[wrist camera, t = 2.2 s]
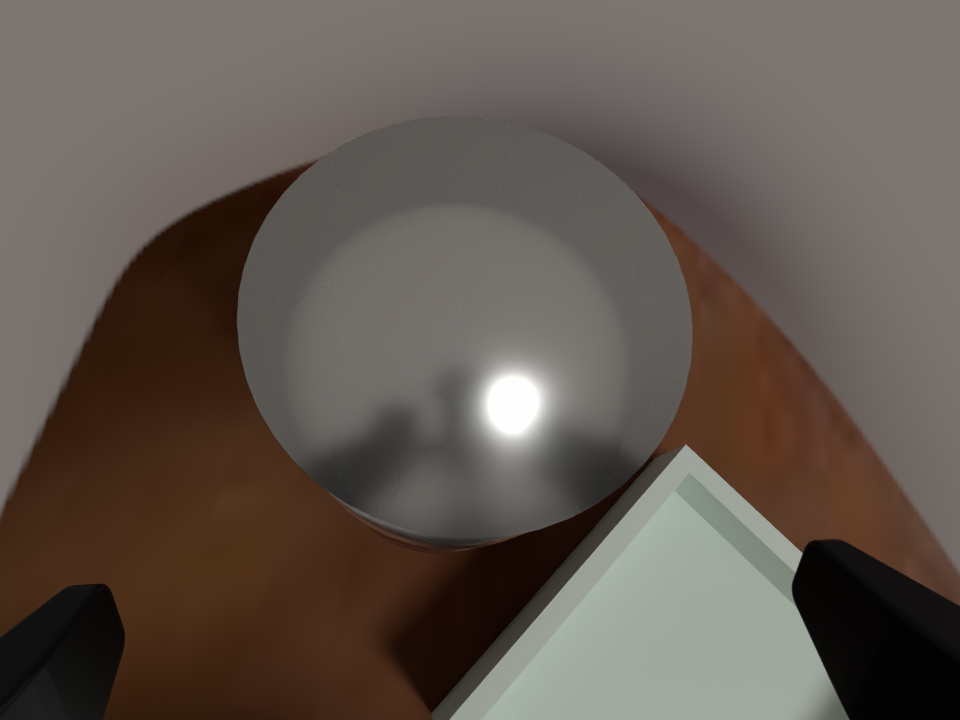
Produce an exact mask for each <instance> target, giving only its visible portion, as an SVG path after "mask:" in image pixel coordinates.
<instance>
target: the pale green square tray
mask: <svg viewBox="0 0 960 720" xmlns="http://www.w3.org/2000/svg"><path fill="white" fill-rule="evenodd" d="M801 556H802V553H801V552H800V551H799V550H798V549H797V548H796V547H795V546H794V545H793V544H792V543H791V542H790V541H789V540H788V539H786V538H785V537H784V536H783V535H782V534H781V533H780V532H779V531H778V530H777V529H776V528H775V527H774V526H773V525H771V524H770V523H769V522H768V521H767V520H766V519H765V518H764V517H763V516H762V515H761V514H760V513H759V512H758V511H756V510H755V509H754V508H753V507H752V506H751V505H750V504H749V503H748V502H747V501H746V500H745V499H744V498H743V497H742V496H740V495H739V494H738V493H737V492H736V491H735V490H734V489H733V488H732V487H731V486H730V485H729V484H728V483H727V482H725V481H724V480H723V479H722V478H721V477H720V476H719V475H718V474H717V473H716V472H715V471H714V470H713V469H712V468H710V467H709V466H708V465H707V464H706V463H705V462H704V461H703V460H702V459H701V458H700V457H699V456H698V455H697V454H696V453H694V452H693V451H692V450H691V449H690V448H689V447H688V446H687V445H684V446H681V447H679V448H677V449H674V450H672V451H670V452H667V453H665V454H663V455H661V456H658V457H656V458H654V459H653V460H652V462H651V463H650V464H649V465H648V466H647V467H646V468H645V470H644V471H643V472H642V473H641V474H640V475H639V476H638V478H637V479H636V480H635V481H634V482H633V483H632V484H631V486H630V487H629V488H628V489H627V490H626V491H625V492H624V494H623V495H622V496H621V497H620V498H619V499H618V500H617V502H616V503H615V504H614V505H613V506H612V507H611V508H610V510H609V511H608V512H607V513H606V514H605V515H604V516H603V518H602V519H601V520H600V521H599V522H598V523H597V524H596V526H595V527H594V528H593V529H592V530H591V531H590V532H589V534H588V535H587V536H586V537H585V538H584V539H583V540H582V542H581V543H580V544H579V545H578V546H577V547H576V548H575V550H574V551H573V552H572V553H571V554H570V555H569V556H568V558H567V559H566V560H565V561H564V562H563V563H562V564H561V566H560V567H559V568H558V569H557V570H556V571H555V572H554V574H553V575H552V576H551V577H550V578H549V579H548V580H547V582H546V583H545V584H544V585H543V586H542V587H541V589H540V590H539V591H538V592H537V593H536V594H535V595H534V597H533V598H532V599H531V600H530V601H529V602H528V603H527V605H526V606H525V607H524V608H523V609H522V610H521V611H520V613H519V614H518V615H517V616H516V617H515V618H514V619H513V621H512V622H511V623H510V624H509V625H508V626H507V627H506V629H505V630H504V631H503V632H502V633H501V634H500V635H499V637H498V638H497V639H496V640H495V641H494V642H493V643H492V645H491V646H490V647H489V648H488V649H487V650H486V651H485V653H484V654H483V655H482V656H481V657H480V658H479V659H478V661H477V662H476V663H475V664H474V665H473V666H472V667H471V669H470V670H469V671H468V672H467V673H466V674H465V675H464V677H463V678H462V679H461V680H460V681H459V682H458V683H457V685H456V686H455V687H454V688H453V689H452V690H451V691H450V693H449V694H448V695H447V696H446V697H445V698H444V699H443V701H442V702H441V703H440V704H439V705H438V706H437V707H436V709H435V710H434V711H433V712H432V713H431V716H432V720H849V718H848V717H847V715H846V713H845V711H844V709H843V707H842V705H841V703H840V701H839V698H838V696H837V694H836V692H835V690H834V688H833V686H832V684H831V681H830V679H829V677H828V675H827V673H826V670H825V668H824V666H823V664H822V662H821V660H820V657H819V655H818V653H817V651H816V649H815V646H814V644H813V642H812V640H811V638H810V636H809V633H808V631H807V629H806V627H805V625H804V622H803V620H802V618H801V616H800V614H799V612H798V609H797V607H796V605H795V603H794V600H793V596H792V581H793V578H794V575H795V573H796V570H797V567H798V564H799V562H800V559H801Z"/></svg>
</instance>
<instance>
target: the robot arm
mask: <svg viewBox="0 0 960 720" xmlns="http://www.w3.org/2000/svg"><path fill="white" fill-rule="evenodd" d="M792 596H793V600H794V603H795V605H796V607H797V609H798V612H799V614H800V616H801V618H802V620H803V622H804V625H805V627H806V629H807V631H808V633H809V636H810V638H811V640H812V642H813V644H814V646H815V649H816V651H817V653H818V655H819V657H820V660H821V662H822V664H823V666H824V668H825V670H826V673H827V675H828V677H829V679H830V681H831V684H832V686H833V688H834V690H835V692H836V694H837V696H838V698H839V701H840V703H841V705H842V707H843V709H844V711H845V713H846V715H847V717H848V718H849V720H960V606H959V605H957V604H955V603H954V602H952V601H950V600H948V599H946V598H945V597H943V596H941V595H939V594H938V593H936V592H934V591H932V590H930V589H929V588H927V587H925V586H923V585H922V584H920V583H918V582H916V581H914V580H913V579H911V578H909V577H907V576H906V575H904V574H902V573H900V572H898V571H897V570H895V569H893V568H891V567H890V566H888V565H886V564H884V563H882V562H881V561H879V560H877V559H875V558H874V557H872V556H870V555H868V554H866V553H865V552H863V551H861V550H859V549H857V548H856V547H854V546H852V545H850V544H849V543H847V542H845V541H843V540H839V539H826V540H813V541H810V542H809V543H808V544H807V545H806V546H805V548H804V551H803V553H802V556H801V559H800V562H799V564H798V567H797V570H796V573H795V575H794V578H793V581H792ZM124 643H125V632H124V627H123V624H122V621H121V618H120V615H119V613H118V610H117V607H116V604H115V601H114V598H113V595H112V592H111V590H110V588H109V587H108V586H106V585H105V584H87V585H73V586H69V587H67V588H65V589H63V590H62V591H60V592H59V593H57V594H56V595H55V596H53V597H52V598H51V599H50V600H48V601H47V602H46V603H44V604H43V605H42V606H40V607H39V608H38V609H36V610H35V611H34V612H32V613H31V614H30V615H29V616H27V617H26V618H25V619H23V620H22V621H21V622H19V623H18V624H17V625H15V626H14V627H13V628H11V629H10V630H9V631H8V632H6V633H5V634H4V635H2V636H1V637H0V720H103V717H104V713H105V710H106V707H107V703H108V700H109V697H110V693H111V690H112V687H113V683H114V680H115V677H116V673H117V670H118V667H119V663H120V660H121V657H122V653H123V649H124Z"/></svg>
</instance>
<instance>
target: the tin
mask: <svg viewBox="0 0 960 720" xmlns="http://www.w3.org/2000/svg"><path fill="white" fill-rule="evenodd" d="M237 329H238V341H239V351H240V355H241V360H242V364H243V368H244V372H245V377H246V380H247V383H248V385H249V388H250V390H251V393H252V395H253V398H254V400H255V403H256V405H257V408H258V410H259V411H260V413H261V415H262V416H263V418H264V420H265V422H266V423H267V425H268V427H269V428H270V430H271V432H272V434H273V435H274V437H275V438H276V439H277V440H278V442H279V443H280V444H281V445H282V447H283V448H284V449H285V450H286V452H287V453H288V454H289V455H290V457H291V458H292V459H293V460H294V461H295V462H296V463H297V464H298V465H299V466H300V467H301V468H302V469H303V470H304V471H305V472H306V473H307V474H308V475H309V476H310V477H311V478H313V479H314V480H315V481H316V482H317V483H318V484H319V485H320V486H322V487H323V488H324V489H325V490H326V491H327V492H328V493H329V494H330V495H331V496H332V497H333V498H334V499H335V500H336V501H337V502H338V503H339V504H340V505H341V506H342V507H343V508H344V509H345V510H346V511H348V512H349V513H350V514H352V515H353V516H354V517H356V518H357V519H358V520H360V521H361V522H362V523H364V524H365V525H366V526H368V527H369V528H370V529H372V530H373V531H374V532H376V533H377V534H379V535H380V536H382V537H383V538H385V539H387V540H389V541H391V542H392V543H394V544H396V545H399V546H402V547H405V548H408V549H410V550H415V551H420V552H425V553H440V554H441V553H455V552H460V551H464V550H469V549H474V548H478V547H483V546H487V545H492V544H496V543H501V542H503V541H506V540H509V539H512V538H514V537H517V536H520V535H522V534H524V533H527V532H531V531H535V530H539V529H542V528H545V527H547V526H550V525H553V524H556V523H558V522H561V521H564V520H567V519H569V518H572V517H573V516H575V515H577V514H579V513H581V512H583V511H585V510H587V509H588V508H590V507H592V506H594V505H596V504H598V503H599V502H600V501H602V500H603V499H605V498H606V497H607V496H609V495H610V494H611V493H613V492H614V491H615V490H617V489H618V488H620V487H621V486H622V485H623V484H624V483H625V482H626V481H627V480H628V479H629V478H630V477H631V476H633V475H634V474H635V473H636V472H637V471H638V470H639V469H640V468H641V467H642V466H643V465H644V463H645V462H646V461H647V459H648V458H649V457H650V456H651V454H652V453H653V452H654V450H655V449H656V448H657V446H658V445H659V444H660V442H661V441H662V439H663V437H664V435H665V434H666V432H667V430H668V428H669V426H670V425H671V423H672V421H673V419H674V417H675V415H676V412H677V410H678V407H679V404H680V402H681V399H682V396H683V394H684V391H685V387H686V383H687V378H688V373H689V369H690V364H691V352H692V339H693V334H692V318H691V308H690V303H689V297H688V292H687V287H686V283H685V280H684V277H683V274H682V271H681V268H680V265H679V262H678V259H677V257H676V255H675V253H674V251H673V249H672V247H671V245H670V243H669V241H668V239H667V237H666V235H665V233H664V232H663V230H662V229H661V227H660V226H659V224H658V222H657V221H656V219H655V218H654V216H653V215H652V213H651V212H650V211H649V210H648V208H647V207H646V206H645V205H644V204H643V202H642V201H641V200H640V199H639V198H638V196H637V195H636V194H635V193H634V192H633V191H632V190H631V189H630V188H629V187H628V186H627V185H626V184H625V183H624V182H623V181H622V180H621V179H620V178H618V177H617V176H616V175H615V174H614V173H613V172H611V171H610V170H609V169H607V168H606V167H605V166H604V165H602V164H601V163H599V162H598V161H597V160H596V159H594V158H592V157H591V156H589V155H587V154H586V153H584V152H583V151H581V150H579V149H578V148H576V147H574V146H573V145H570V144H568V143H566V142H564V141H562V140H559V139H557V138H556V137H553V136H551V135H549V134H546V133H543V132H540V131H537V130H535V129H532V128H529V127H526V126H522V125H518V124H514V123H509V122H505V121H501V120H494V119H486V118H477V117H437V118H425V119H418V120H413V121H408V122H404V123H399V124H394V125H391V126H388V127H385V128H382V129H378V130H375V131H372V132H369V133H367V134H365V135H363V136H361V137H358V138H357V139H354V140H352V141H350V142H348V143H345V144H344V145H342V146H340V147H339V148H337V149H336V150H334V151H332V152H331V153H329V154H327V155H326V156H324V157H323V158H321V159H320V160H319V161H318V162H316V163H315V164H314V165H313V166H311V167H310V168H309V169H308V170H306V171H305V172H304V173H303V174H301V175H300V176H299V178H298V179H297V180H296V181H295V182H294V183H293V184H292V185H291V186H290V187H289V188H288V189H287V190H286V191H285V192H284V193H283V194H282V196H281V197H280V198H279V200H278V201H277V202H276V204H275V205H274V207H273V208H272V209H271V211H270V212H269V213H268V215H267V216H266V218H265V220H264V222H263V224H262V226H261V227H260V229H259V231H258V233H257V235H256V237H255V239H254V241H253V244H252V246H251V249H250V252H249V254H248V257H247V260H246V263H245V265H244V270H243V275H242V279H241V284H240V289H239V295H238V311H237Z"/></svg>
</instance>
